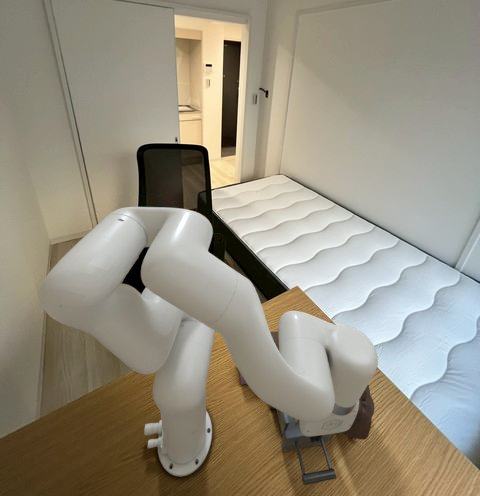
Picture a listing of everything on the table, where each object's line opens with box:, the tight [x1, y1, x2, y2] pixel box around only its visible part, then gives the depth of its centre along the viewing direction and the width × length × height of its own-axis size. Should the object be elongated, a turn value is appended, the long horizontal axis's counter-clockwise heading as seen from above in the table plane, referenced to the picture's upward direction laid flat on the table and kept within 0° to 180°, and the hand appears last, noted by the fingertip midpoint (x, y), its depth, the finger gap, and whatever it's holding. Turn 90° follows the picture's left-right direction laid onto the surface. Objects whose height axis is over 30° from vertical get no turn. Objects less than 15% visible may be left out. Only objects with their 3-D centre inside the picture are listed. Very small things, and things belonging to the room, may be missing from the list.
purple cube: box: [239, 372, 248, 385], centre depth 70 cm, size 4×4×4 cm
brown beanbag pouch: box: [339, 384, 376, 441], centre depth 60 cm, size 15×7×20 cm, turn 168°
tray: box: [276, 409, 337, 486], centre depth 59 cm, size 20×11×7 cm, turn 8°
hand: (312, 431), depth 51 cm, fingers closed
